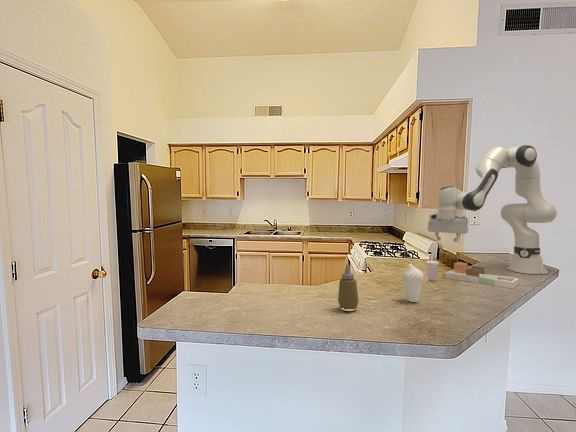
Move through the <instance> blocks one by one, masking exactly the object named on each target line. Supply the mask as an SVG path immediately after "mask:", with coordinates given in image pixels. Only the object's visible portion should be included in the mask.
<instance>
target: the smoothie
mask: <svg viewBox="0 0 576 432" xmlns="http://www.w3.org/2000/svg"><path fill="white" fill-rule="evenodd" d="M430 254H431V260H426V261H425V264H426V270H427V271H426V272H427V279H428V281H431V282H437V276H438V272H439V271H438V270H439V264H440V261H436V260H433V253H430Z"/></svg>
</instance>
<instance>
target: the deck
mask: <svg viewBox="0 0 576 432" xmlns="http://www.w3.org/2000/svg"><path fill="white" fill-rule="evenodd" d="M470 267H471V268H466V273H465V274H460V273H454V268H453V269H449V270H448V271H446V272H444V278H445V279H449V280H455V281H461V282H467V283H469V282H470V283H475V284H480V283H481V285H488V286H492V287H493V286H494V287H500V288H506V289H515V288H516V287H518V286H519V281H520V280H519V278H518V277H510V276H503V275H495V274H489V273H485V272H486V271H485V267H483V266H475V265H471V266H470Z"/></svg>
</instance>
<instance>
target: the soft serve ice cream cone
mask: <svg viewBox="0 0 576 432" xmlns="http://www.w3.org/2000/svg"><path fill="white" fill-rule="evenodd" d="M406 267H407V268H406V269H405V270H404V271H403V272H402V274H401V277H402V279H403V280H402V281H403V285H404V286H403V289H404V292H405V295H406V296H405V297H406V301H407V302H408V301H410V302H409V303H411V302H417V303H419V299H420V296H421V295H420V294H421V290H422V288H421V287H422V282H423V278H424V273H423V272H422V271H421V270H420V269H419V268H418V267H415V266H414V265H413V264H412V263H409V264H408V265H407V266H406Z"/></svg>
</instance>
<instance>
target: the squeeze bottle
mask: <svg viewBox="0 0 576 432" xmlns="http://www.w3.org/2000/svg"><path fill="white" fill-rule="evenodd" d="M344 269H345V270H344V272H343V273H341V278H340V279H339V285H338V296H337V297H338V299H337V302H338V304H339V308H340V307H341V308H344V309H355V308H356V309H357V308H358V304H359V293H358V283H357V280H356V278H355V274H354V272H351V266H350V264H346V265H345V268H344ZM341 308H340V309H341Z"/></svg>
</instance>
